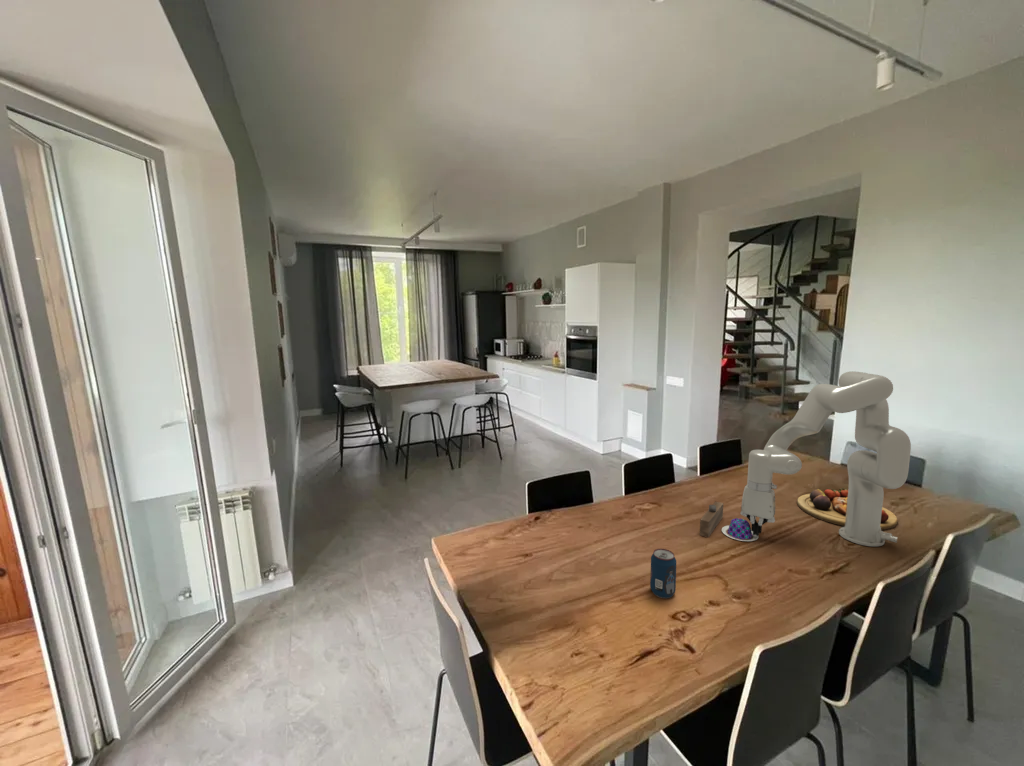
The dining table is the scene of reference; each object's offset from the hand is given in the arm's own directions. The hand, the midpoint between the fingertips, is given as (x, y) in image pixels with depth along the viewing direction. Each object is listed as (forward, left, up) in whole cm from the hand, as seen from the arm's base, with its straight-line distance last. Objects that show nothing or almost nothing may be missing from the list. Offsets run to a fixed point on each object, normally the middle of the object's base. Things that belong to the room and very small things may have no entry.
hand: (756, 533), depth 153 cm
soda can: (+15, +51, -2) cm, 53 cm away
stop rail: (+15, 0, -2) cm, 15 cm away
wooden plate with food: (-24, -44, -2) cm, 50 cm away
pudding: (+5, 0, -2) cm, 6 cm away
